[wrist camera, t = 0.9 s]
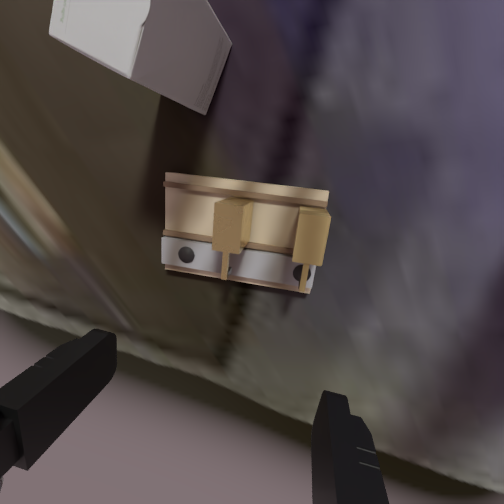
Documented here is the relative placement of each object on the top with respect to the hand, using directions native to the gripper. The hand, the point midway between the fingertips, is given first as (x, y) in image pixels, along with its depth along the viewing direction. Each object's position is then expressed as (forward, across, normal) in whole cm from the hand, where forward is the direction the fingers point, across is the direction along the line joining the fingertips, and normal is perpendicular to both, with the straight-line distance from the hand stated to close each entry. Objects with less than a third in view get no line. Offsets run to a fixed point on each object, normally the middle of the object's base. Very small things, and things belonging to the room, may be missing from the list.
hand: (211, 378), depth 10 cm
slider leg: (+24, +5, +1) cm, 25 cm away
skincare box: (+26, +12, -17) cm, 33 cm away
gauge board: (+26, +5, +1) cm, 26 cm away
